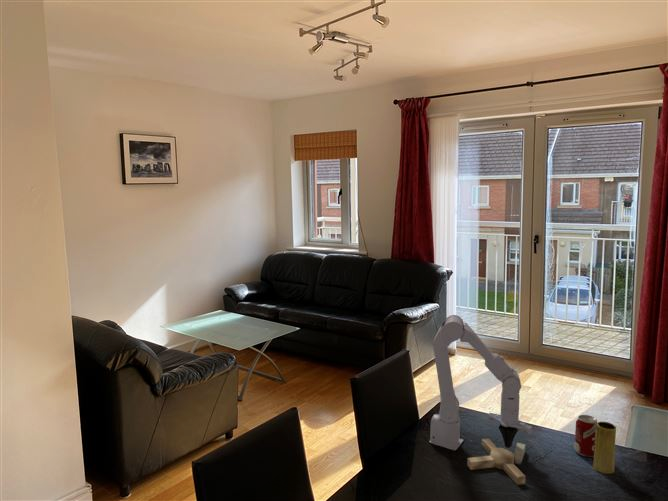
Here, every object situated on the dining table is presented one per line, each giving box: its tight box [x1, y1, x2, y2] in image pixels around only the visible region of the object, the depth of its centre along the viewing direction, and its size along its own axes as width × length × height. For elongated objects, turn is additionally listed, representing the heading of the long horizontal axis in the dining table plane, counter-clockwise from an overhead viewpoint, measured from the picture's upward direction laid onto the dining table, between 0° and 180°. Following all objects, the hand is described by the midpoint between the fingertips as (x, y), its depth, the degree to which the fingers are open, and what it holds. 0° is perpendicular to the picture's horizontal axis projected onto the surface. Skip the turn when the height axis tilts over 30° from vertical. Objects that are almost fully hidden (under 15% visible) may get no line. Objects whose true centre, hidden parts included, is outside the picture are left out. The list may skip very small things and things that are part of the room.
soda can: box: [573, 414, 598, 458], centre depth 163 cm, size 7×7×12 cm
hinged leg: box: [512, 442, 526, 465], centre depth 161 cm, size 9×2×3 cm, turn 150°
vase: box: [592, 421, 617, 475], centre depth 154 cm, size 6×6×14 cm
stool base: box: [466, 438, 526, 486], centre depth 157 cm, size 15×22×4 cm, turn 10°
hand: (508, 446), depth 165 cm, fingers closed
